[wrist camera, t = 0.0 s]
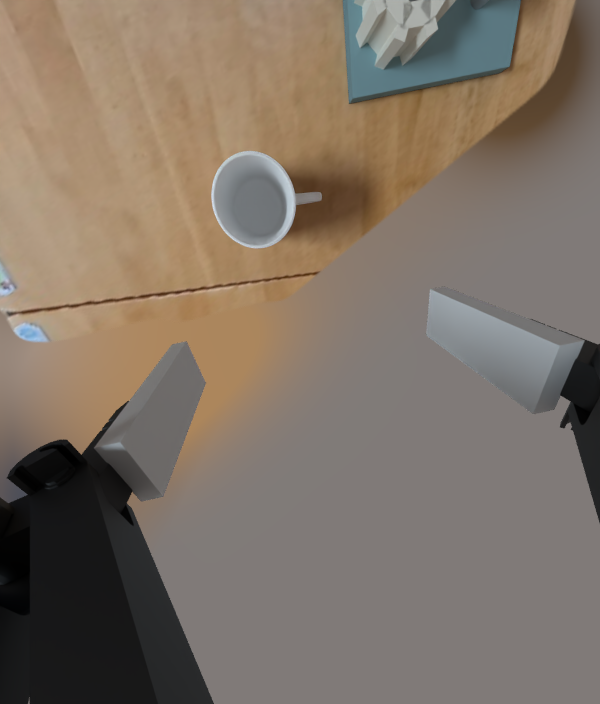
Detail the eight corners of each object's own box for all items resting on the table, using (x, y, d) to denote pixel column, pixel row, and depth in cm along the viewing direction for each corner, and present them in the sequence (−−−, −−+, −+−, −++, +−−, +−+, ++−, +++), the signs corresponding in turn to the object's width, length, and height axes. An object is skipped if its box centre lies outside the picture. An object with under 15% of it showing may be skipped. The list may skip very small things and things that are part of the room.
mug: (312, 169, 33) (332, 146, 22) (312, 239, 37) (330, 247, 26) (221, 170, 32) (199, 147, 21) (232, 242, 36) (217, 252, 25)
